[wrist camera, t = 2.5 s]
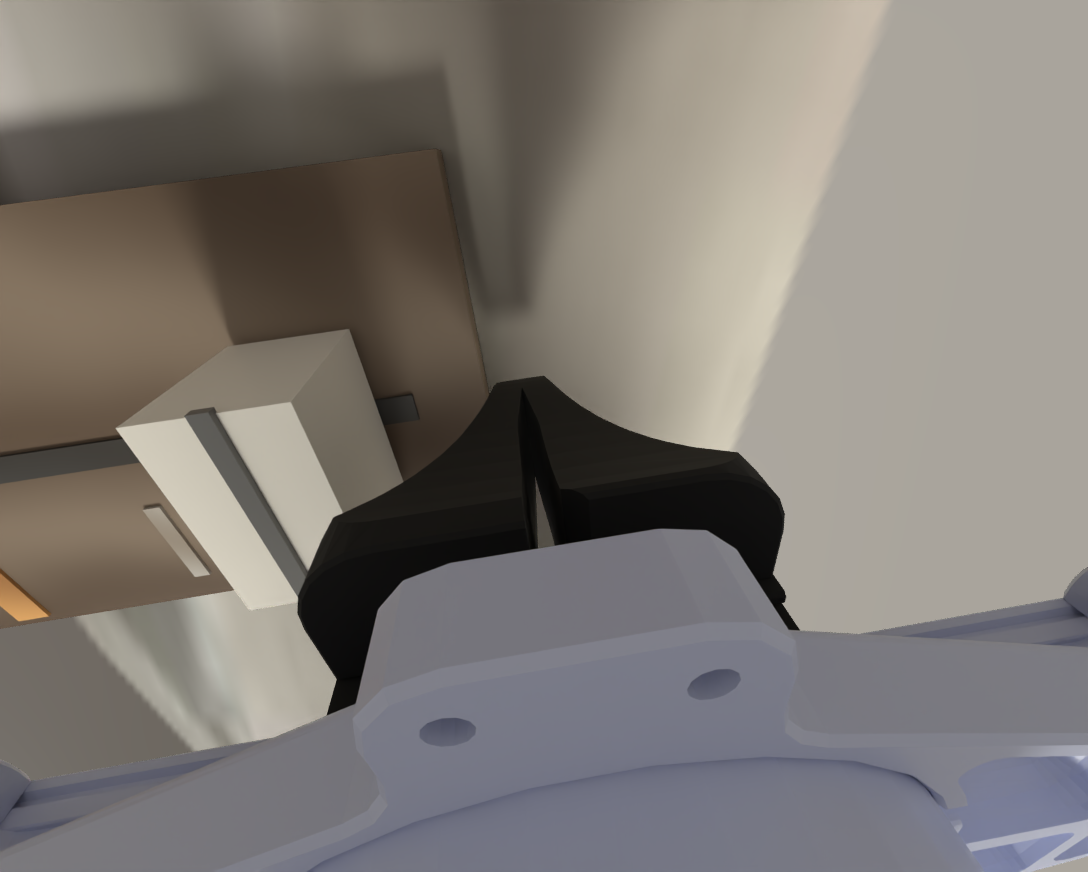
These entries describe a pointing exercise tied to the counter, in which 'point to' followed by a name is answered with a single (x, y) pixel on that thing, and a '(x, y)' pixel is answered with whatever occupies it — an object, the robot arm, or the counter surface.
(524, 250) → the counter surface
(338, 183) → the fader console
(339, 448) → the fader knob
